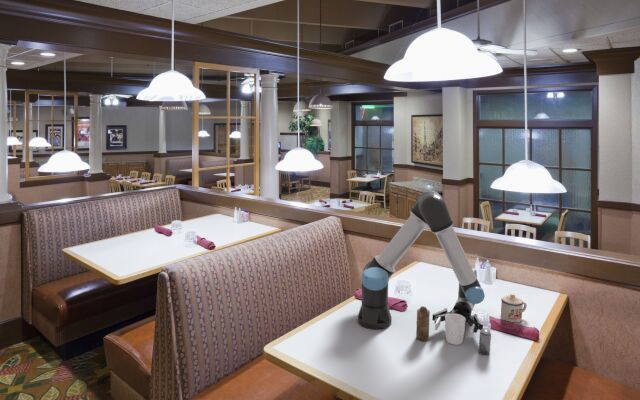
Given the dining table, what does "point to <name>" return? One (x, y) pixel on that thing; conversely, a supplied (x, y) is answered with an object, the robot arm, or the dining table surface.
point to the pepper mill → (422, 324)
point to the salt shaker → (484, 342)
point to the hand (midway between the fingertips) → (453, 330)
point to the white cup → (454, 328)
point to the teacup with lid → (512, 308)
